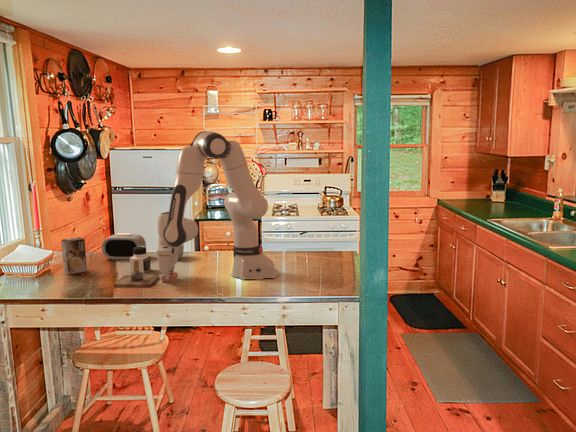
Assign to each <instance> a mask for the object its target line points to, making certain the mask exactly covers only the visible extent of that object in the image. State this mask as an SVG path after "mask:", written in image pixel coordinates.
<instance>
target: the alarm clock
mask: <svg viewBox="0 0 576 432" xmlns="http://www.w3.org/2000/svg"><path fill="white" fill-rule="evenodd" d="M101 243H102V244H101V252H102V254H103V256H104V257H105V258H107V259H110V260H111V261H130V258H131V257H133V256H134V255H133V248H134V247H137V246H144V247H146V248H147V244H146V240H145V238H144V237H143V236H142V235H140V234H136V233H133V234H132V233H130V232H128V233H127V232H125V233H123V232H120V233H119V232H118V233H115V234H112V235H110V236H108V237H107V238H105V239H104V240H103V241H102V242H101Z"/></svg>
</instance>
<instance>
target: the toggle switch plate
mask: <svg viewBox="0 0 576 432" xmlns="http://www.w3.org/2000/svg"><path fill="white" fill-rule="evenodd" d="M133 267H134V272H130V274H127V275H126V274H125V275H123V276H121V278H119V279H118V280H117V281H116V282H114V283H113V287H114V288H151V287H152V286H154V284H155V283H156V282H157V281H158V280H159V278H160V275H155V274H154V275H153V274H152V275H149V274H148V275H143V274H144V273H143V272H139V260H133Z"/></svg>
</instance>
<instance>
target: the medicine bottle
mask: <svg viewBox="0 0 576 432" xmlns="http://www.w3.org/2000/svg"><path fill="white" fill-rule="evenodd" d="M133 255H134V256H133V257H131V258H130V260H129V265H130V266H129V268H130V269H129V270H130V271H129V272H130V273H132V272H134V267H133V260H139V272H143V274H145V273H146V272H148V271H150V270H151V269H152V268H151V267H152V265H151V255H147V246H146V247H144V246H137V247H134V248H133Z"/></svg>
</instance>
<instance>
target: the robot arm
mask: <svg viewBox="0 0 576 432" xmlns="http://www.w3.org/2000/svg"><path fill="white" fill-rule="evenodd" d="M208 158H211V159H219V160H220V162H221V163H220V164H221V166H222V170H223V173H224V177H225V181H226V183H227V185H228V187H229V188H230V189H231V190H232V191H233V192H229V193H228V194H227V195H226V196H225V198H224V201H223V202H224V208H225V210H226V211H227V213H228V214H229V217H230V220H231V223H232V227H233V236H234V237H233V240H234V241H233V242H234V243H233V248H232V249H233V250H232V254H233V266H232V271H231V274H230V275H231V276H232V277H233V276H234V278H236V277H238V278H237V279H240V278H241V279H240V280H242V279H256V280H264V279H263V278H274V279H276V278H275V277H277V276H278V275H279V276H280V271H279V270H278V269H276V268H275V264H274V261H273V260H272V259H271V258H270V257H269V256H267V255H266V254H264V253H263V251H264V248H263V246H262V245H260V244H259V230H258V227H257V226H256V224H255V223H254V220H253V219H255V218H256V219H257V218H262V217H264V216H266V214H267V212H268V210H269V203H268V201H267V199H266V198H265V197H264V196H263V195H262V194H261V192H260V191H259V190H258V188H257V187H256V185H255V184H256V183H254V181H253V179H252V177H251V173H250V169H249V166H248V163H247V158H246V156H245V153H244V150H243V148H242V146H241V144H240V143H239V142H238V141H236V140H228V139H226V137H224V136H223V135H222V134H221V133H218V132H215V131H208V130H207V131H206V130H204V131H201V132H199V133H197V134H196V135H195V137H194V138H193V140H192V141H191V142H190V145H189V146H187V145H186V146H184V147H183V148H181V149H180V151H179V154H178V159H177V165H176V174H175V175H176V176H175V182H174V187H173V190H172V194H171V197H170V198H171V199H170V204H169V210H168V211H165V212H161V213H160V214H159V215H158V217H157V233H158V238H157V243H158V244H157V249H156V255H157V256H158V257H157V260H158V261H157V262H158V268H159V272H160V273H163V274H165V279H166V280H168V279H170V275H169V272H175V265H176V264H177V263H178V261H179V259H178V253H177V251H178V250H179V246H180V245H182V244H185V243H187V242H190V241H192V240H194V239H196V237H197V236H198V234H199V226H198V224H197V222H196V221H195V220H194V219H189V218H186V217H185V212H186V210H185V209H186V205H187V203H188V201H189V199H190V198H191V197H192V196H194V194H195V193H196V192H197V191H199V189H200V188H201V185H202V182H203V174H204V173H203V171H204V164H205V162H206V160H207V159H208ZM279 276H278V277H279ZM278 277H277V278H278Z"/></svg>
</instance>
